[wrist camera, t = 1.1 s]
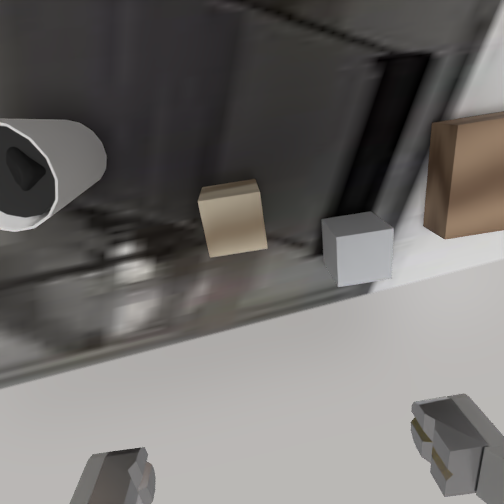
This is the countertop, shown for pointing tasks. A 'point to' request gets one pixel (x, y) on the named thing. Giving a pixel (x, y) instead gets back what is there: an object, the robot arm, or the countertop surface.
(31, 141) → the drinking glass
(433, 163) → the walnut block
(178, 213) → the countertop surface
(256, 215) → the ash block
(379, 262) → the grey block
